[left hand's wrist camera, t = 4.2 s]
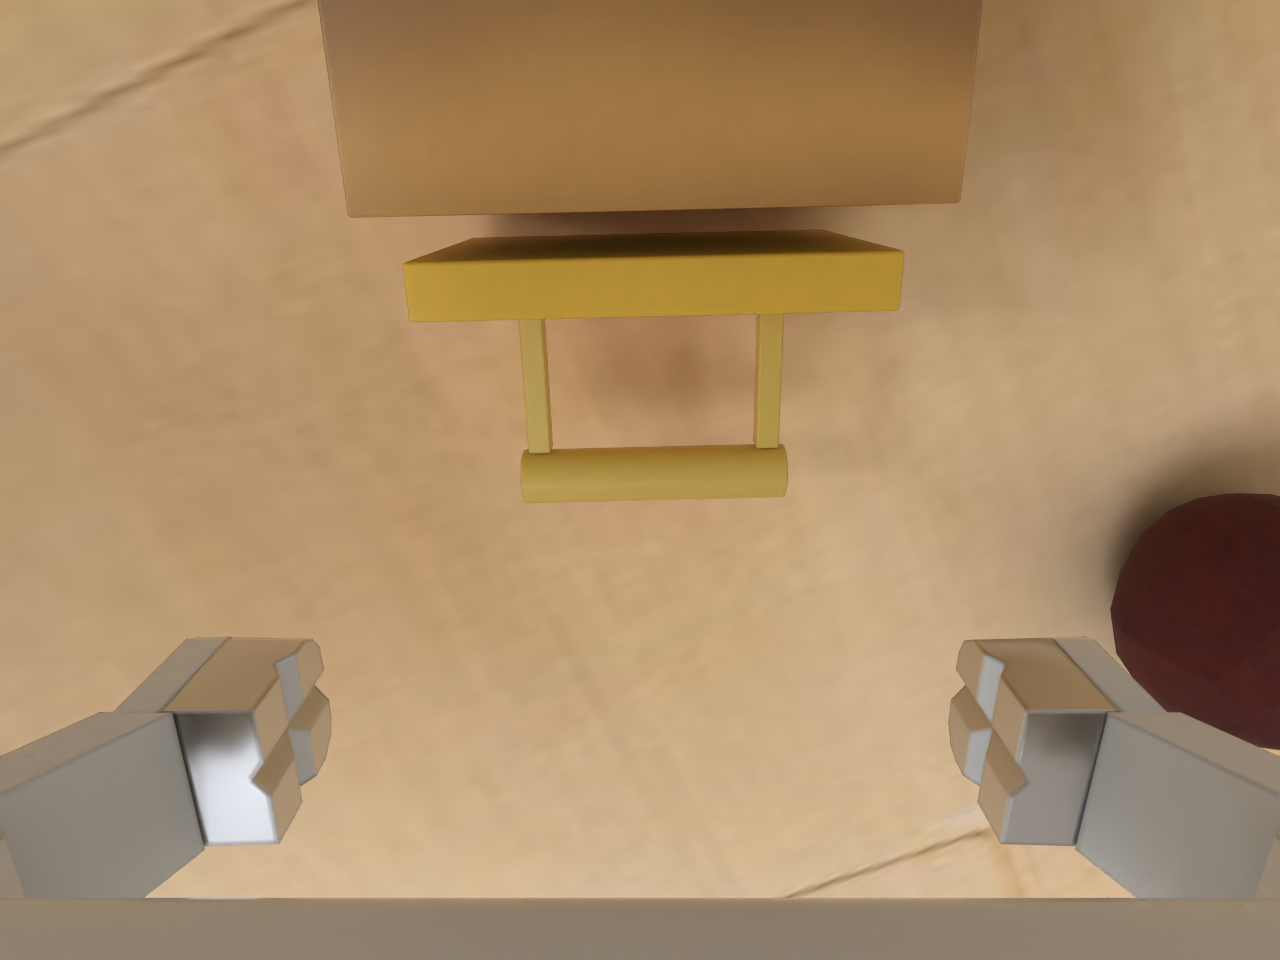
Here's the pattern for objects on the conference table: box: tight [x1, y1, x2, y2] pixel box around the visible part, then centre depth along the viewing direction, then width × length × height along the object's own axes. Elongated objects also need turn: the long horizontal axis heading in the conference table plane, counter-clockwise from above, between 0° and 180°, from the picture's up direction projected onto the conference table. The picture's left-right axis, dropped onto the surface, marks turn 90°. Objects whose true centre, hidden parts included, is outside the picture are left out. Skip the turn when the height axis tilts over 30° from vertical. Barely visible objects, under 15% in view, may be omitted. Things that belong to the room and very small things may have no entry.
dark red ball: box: [1110, 494, 1280, 750], centre depth 24 cm, size 7×8×7 cm
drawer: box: [403, 230, 904, 503], centre depth 18 cm, size 23×10×7 cm, turn 1°
